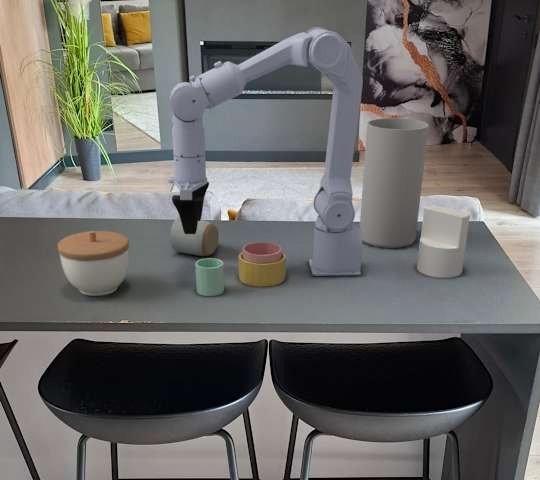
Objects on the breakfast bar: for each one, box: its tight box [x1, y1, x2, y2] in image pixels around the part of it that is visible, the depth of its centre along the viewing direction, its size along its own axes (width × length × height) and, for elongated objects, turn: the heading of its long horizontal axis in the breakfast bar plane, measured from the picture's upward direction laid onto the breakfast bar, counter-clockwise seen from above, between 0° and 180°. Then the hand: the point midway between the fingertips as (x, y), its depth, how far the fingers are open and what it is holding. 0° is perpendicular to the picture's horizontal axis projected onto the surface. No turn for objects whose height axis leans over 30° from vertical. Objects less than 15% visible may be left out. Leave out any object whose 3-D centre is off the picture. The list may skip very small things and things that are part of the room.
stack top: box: [242, 241, 283, 264], centre depth 137 cm, size 8×8×6 cm
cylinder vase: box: [359, 117, 429, 249], centre depth 152 cm, size 12×12×25 cm
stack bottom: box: [238, 251, 287, 288], centre depth 137 cm, size 9×9×4 cm
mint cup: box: [194, 257, 225, 297], centre depth 131 cm, size 5×5×6 cm
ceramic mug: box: [169, 215, 219, 257], centre depth 149 cm, size 11×8×8 cm
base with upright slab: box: [416, 204, 471, 279], centre depth 140 cm, size 9×9×12 cm
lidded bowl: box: [57, 230, 130, 297], centre depth 130 cm, size 13×13×11 cm
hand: (192, 226), depth 135 cm, fingers open, 7 cm apart
